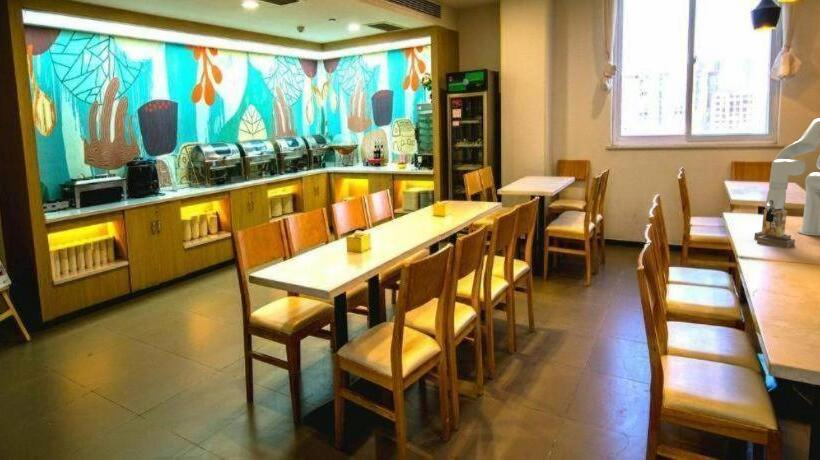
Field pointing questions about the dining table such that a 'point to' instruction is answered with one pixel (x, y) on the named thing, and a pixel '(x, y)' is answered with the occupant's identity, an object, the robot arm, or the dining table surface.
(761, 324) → the dining table surface
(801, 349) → the dining table surface
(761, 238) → the holder
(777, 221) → the candy box
